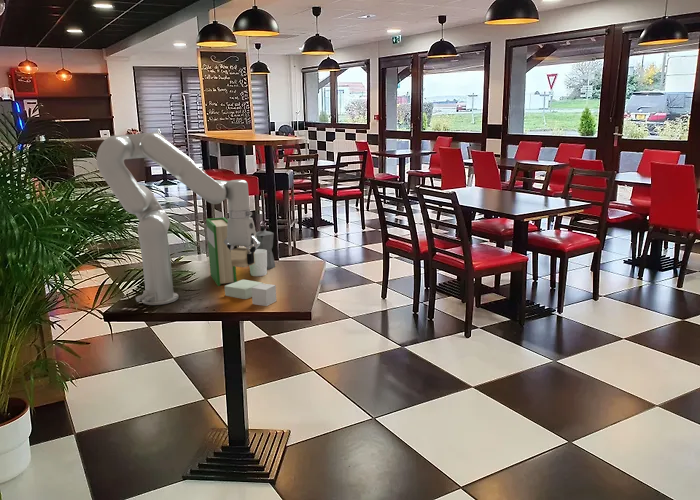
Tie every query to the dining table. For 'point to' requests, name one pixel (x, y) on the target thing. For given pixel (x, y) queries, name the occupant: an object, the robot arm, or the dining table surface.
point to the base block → (241, 289)
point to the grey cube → (264, 294)
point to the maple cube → (240, 257)
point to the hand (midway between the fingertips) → (243, 262)
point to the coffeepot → (266, 245)
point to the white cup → (259, 263)
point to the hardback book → (219, 252)
